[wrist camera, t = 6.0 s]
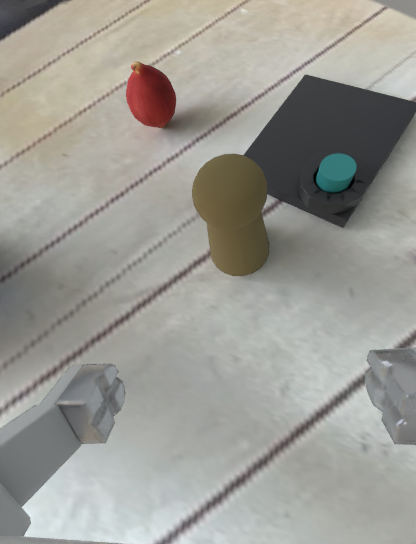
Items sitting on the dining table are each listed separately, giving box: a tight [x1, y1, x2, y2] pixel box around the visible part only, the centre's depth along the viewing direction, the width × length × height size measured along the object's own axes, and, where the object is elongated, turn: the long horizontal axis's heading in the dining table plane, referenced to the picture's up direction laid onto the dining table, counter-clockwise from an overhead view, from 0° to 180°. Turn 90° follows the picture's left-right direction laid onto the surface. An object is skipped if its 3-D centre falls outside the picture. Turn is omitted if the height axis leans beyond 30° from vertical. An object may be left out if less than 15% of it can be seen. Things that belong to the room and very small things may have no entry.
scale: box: [243, 75, 416, 228], centre depth 27 cm, size 16×13×3 cm
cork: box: [192, 154, 269, 276], centre depth 21 cm, size 6×6×11 cm
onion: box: [126, 61, 176, 128], centre depth 31 cm, size 6×6×8 cm
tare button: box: [316, 153, 357, 193], centre depth 23 cm, size 3×3×2 cm
